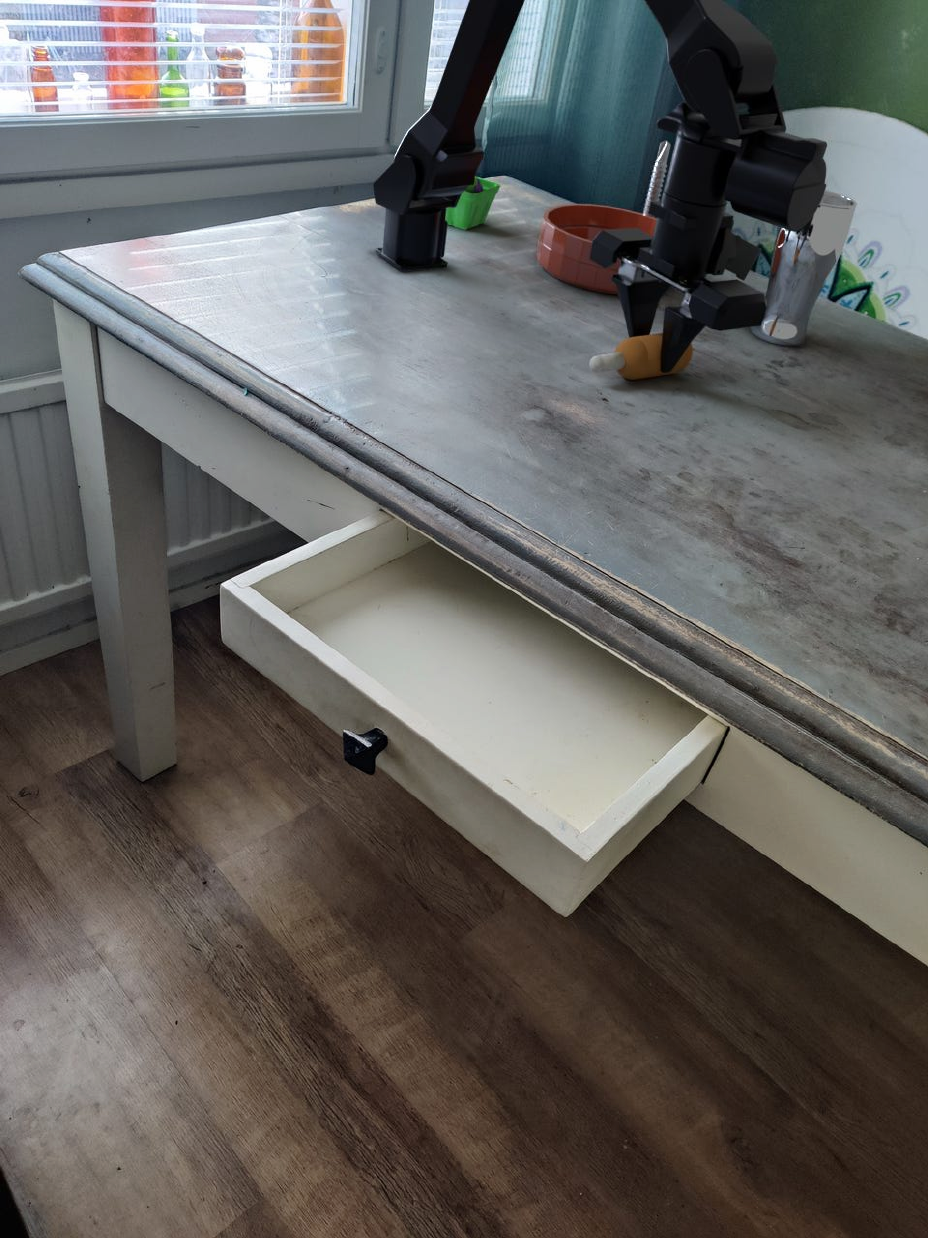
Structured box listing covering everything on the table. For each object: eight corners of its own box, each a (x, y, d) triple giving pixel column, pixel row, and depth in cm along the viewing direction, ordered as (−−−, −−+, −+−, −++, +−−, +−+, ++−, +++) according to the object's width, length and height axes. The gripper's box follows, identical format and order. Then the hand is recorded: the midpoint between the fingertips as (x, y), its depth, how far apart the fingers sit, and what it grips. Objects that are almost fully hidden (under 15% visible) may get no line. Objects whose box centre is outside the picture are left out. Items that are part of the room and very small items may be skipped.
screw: (618, 237, 130) (650, 239, 132) (632, 249, 127) (664, 251, 128) (641, 133, 122) (675, 136, 124) (656, 143, 119) (691, 146, 120)
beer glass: (809, 332, 110) (859, 196, 101) (806, 353, 105) (858, 211, 96) (749, 318, 111) (793, 182, 102) (744, 337, 106) (789, 196, 97)
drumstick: (668, 361, 98) (678, 323, 96) (694, 377, 96) (705, 339, 93) (574, 375, 92) (582, 335, 90) (599, 393, 90) (609, 353, 87)
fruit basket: (497, 223, 128) (511, 132, 121) (463, 236, 122) (475, 140, 115) (427, 201, 132) (436, 111, 125) (390, 212, 126) (397, 118, 119)
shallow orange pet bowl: (628, 308, 109) (640, 260, 105) (508, 262, 116) (515, 215, 113) (696, 280, 120) (708, 235, 117) (582, 239, 127) (591, 196, 124)
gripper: (835, 226, 82) (776, 393, 92) (690, 165, 94) (651, 319, 104) (745, 232, 77) (692, 409, 87) (603, 167, 89) (570, 329, 98)
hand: (651, 362), depth 94 cm, fingers closed on drumstick, 4 cm apart
